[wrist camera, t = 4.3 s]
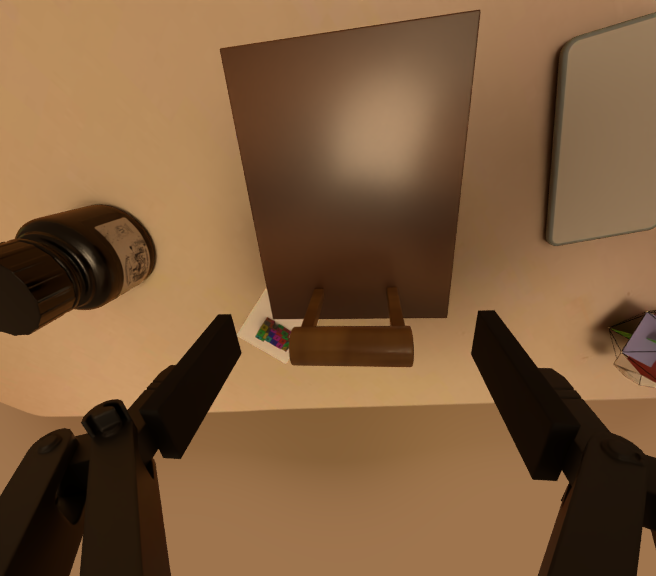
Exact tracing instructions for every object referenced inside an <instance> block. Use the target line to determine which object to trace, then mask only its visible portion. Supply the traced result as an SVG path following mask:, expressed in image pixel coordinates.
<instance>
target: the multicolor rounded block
mask: <svg viewBox="0 0 656 576" xmlns="http://www.w3.org/2000/svg"><path fill="white" fill-rule="evenodd" d="M275 323H276V321H275V320H273V319H272V318H270V317H268V316H267V317H266V318H265V320H264V321H263V323H262V324H261V326H260V327H259V329H258V330H257V332H256V334H255V336H254V337H255V338H256V339H257V340H259V341H261V342H263V343H264V342H267V343H269V344H270V345H272V346H274V347H275V348H277V349H279V350H282V351H284V352H285V353H286V352H287V351H288V350H289V338H290V333H291V330H290V329H288V328H287V327H285V326H283V325H282V324H280V323H279V324H278V325H277V327H276V328H274V325H275Z"/></svg>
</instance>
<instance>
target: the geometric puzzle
mask: <svg viewBox="0 0 656 576" xmlns="http://www.w3.org/2000/svg"><path fill="white" fill-rule="evenodd" d="M653 311H654V312H651V313H656V312H655V311H656V310H653ZM645 312H646V313H645ZM645 312H644V313H645V315H643V318H642V320H641V321H640V323H639V324H638V326H637V328H636V329H635V331H634V332H633V334H629V333H626V332H622V331H618V330H615V329H611V327H608V328H609V332H611V331H610V329H611V330H613V331H614V332H616V333H618V334H620V335H622V336H624V337H626V338H628V339H629V340H628V342H627V343H626V345H625V347H624V348H623V350H622V351H621V350H620V355H619V356H618V358H617V357H616V358H617V359H616V361H615V362H614V365H615V366H616V367H617V368H618V370H619V371H620V372H621V373H622V374H623V375H624V376H625V377H627V378H629V379H630V380H632V381H633V382H635V383H637V384H638V385H641V386H647V387H653V388H656V314H655V315H653V314H651V313H649V312H650V311H645ZM642 314H643V313H642ZM637 316H638V315H637ZM635 317H636V316H635ZM640 317H641V316H640ZM637 318H639V317H637ZM630 319H631V318H630ZM634 319H636V318H634ZM628 320H629V319H628ZM632 320H633V319H632ZM629 321H630V320H629ZM626 322H628V321H626ZM623 323H625V322H624V321H623ZM620 324H622V322H621V323H620ZM616 325H617V324H616ZM616 325H614V326H616ZM618 325H619V324H618ZM614 326H612V327H614ZM611 334H612V333H611ZM611 334H610V335H611ZM612 336H613V335H612ZM613 338H614V336H613ZM611 339H612V338H611ZM614 339H615V338H614ZM615 341H616V340H615ZM612 343H613V342H612ZM616 343H617V342H616ZM617 345H618V344H617ZM613 347H614V345H613ZM618 347H619V346H618ZM619 349H620V348H619ZM614 351H615V349H614ZM615 354H616V353H615ZM623 354H624V355H625V354H626V355H628V356H629V357H628V356H626V355H625V356H626V357H628V358H626V357H625V356H624V355H623Z"/></svg>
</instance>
